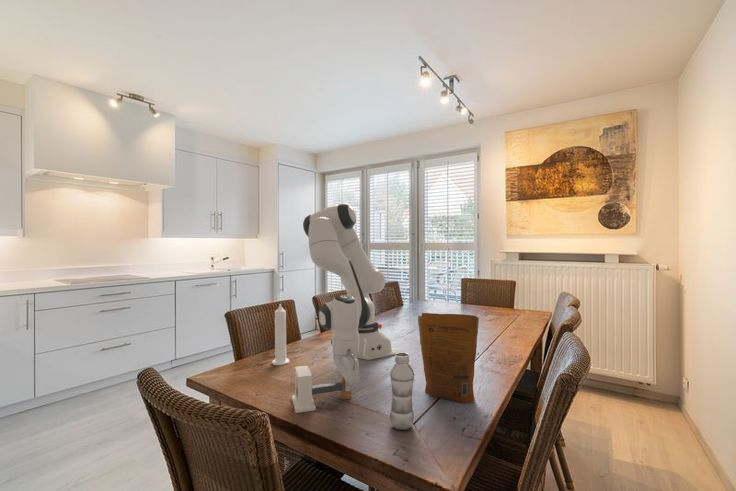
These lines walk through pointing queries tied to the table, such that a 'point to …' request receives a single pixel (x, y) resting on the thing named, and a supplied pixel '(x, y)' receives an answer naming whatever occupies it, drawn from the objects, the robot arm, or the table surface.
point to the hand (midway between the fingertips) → (345, 387)
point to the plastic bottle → (402, 393)
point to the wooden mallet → (332, 389)
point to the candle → (280, 337)
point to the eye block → (303, 390)
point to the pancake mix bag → (449, 354)
